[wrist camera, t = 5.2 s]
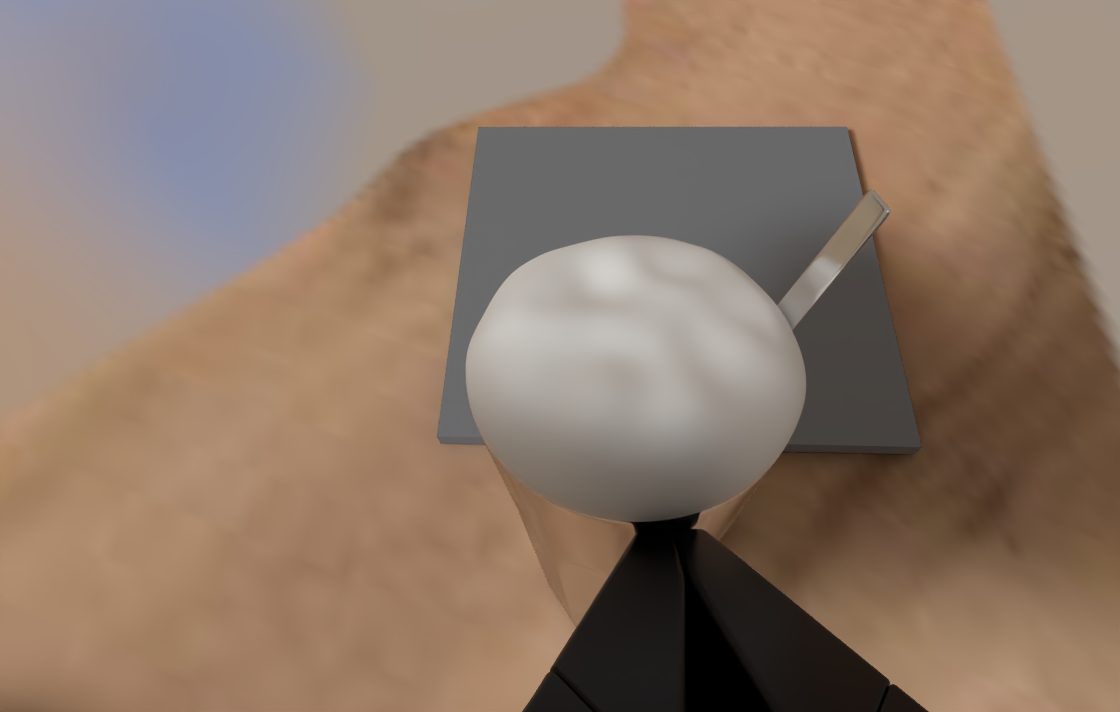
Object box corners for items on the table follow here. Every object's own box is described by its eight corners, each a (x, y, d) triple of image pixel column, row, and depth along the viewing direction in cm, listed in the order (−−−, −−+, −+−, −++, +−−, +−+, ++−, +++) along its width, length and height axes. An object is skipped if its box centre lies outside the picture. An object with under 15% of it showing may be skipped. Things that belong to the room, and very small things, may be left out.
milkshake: (788, 630, 15) (1009, 341, 7) (549, 704, 14) (480, 481, 6) (706, 453, 17) (794, 99, 9) (503, 508, 17) (412, 178, 9)
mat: (913, 454, 17) (922, 447, 16) (440, 443, 17) (436, 436, 17) (841, 138, 22) (846, 126, 22) (480, 138, 23) (478, 127, 22)
